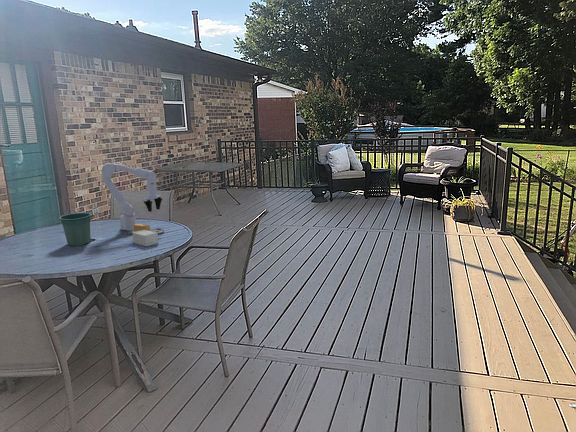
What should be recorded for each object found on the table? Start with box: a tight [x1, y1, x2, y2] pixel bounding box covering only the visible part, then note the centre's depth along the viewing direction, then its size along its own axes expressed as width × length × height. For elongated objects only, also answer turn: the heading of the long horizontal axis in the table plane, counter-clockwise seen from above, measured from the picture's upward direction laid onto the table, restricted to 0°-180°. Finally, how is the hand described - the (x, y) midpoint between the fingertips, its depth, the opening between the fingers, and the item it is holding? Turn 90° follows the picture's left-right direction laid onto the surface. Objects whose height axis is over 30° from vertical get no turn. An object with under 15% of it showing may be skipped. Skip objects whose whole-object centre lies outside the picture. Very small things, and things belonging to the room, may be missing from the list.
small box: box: [132, 230, 159, 247], centre depth 248 cm, size 8×6×13 cm
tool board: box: [126, 230, 165, 236], centre depth 270 cm, size 20×10×1 cm, turn 65°
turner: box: [134, 223, 160, 232], centre depth 269 cm, size 15×7×4 cm, turn 65°
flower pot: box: [59, 212, 92, 247], centre depth 251 cm, size 16×16×16 cm
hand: (154, 210), depth 287 cm, fingers open, 7 cm apart
